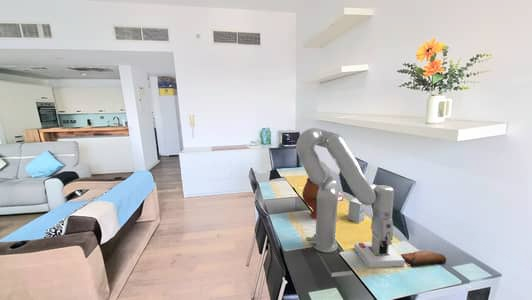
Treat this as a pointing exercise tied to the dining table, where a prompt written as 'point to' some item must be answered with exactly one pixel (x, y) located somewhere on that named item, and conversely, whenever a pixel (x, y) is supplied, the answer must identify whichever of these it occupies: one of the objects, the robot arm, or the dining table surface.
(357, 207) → the supplement box
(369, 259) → the socket plate
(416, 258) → the sunglasses case
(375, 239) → the plug
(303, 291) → the dining table surface
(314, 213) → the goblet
